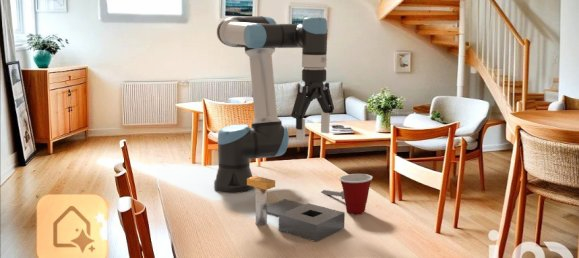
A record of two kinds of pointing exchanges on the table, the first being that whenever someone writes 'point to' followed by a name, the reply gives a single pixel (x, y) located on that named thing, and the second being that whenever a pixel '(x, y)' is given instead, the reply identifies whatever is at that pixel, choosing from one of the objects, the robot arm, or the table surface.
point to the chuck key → (261, 197)
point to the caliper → (334, 193)
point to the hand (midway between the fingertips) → (313, 136)
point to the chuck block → (311, 222)
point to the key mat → (282, 207)
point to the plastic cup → (355, 192)
